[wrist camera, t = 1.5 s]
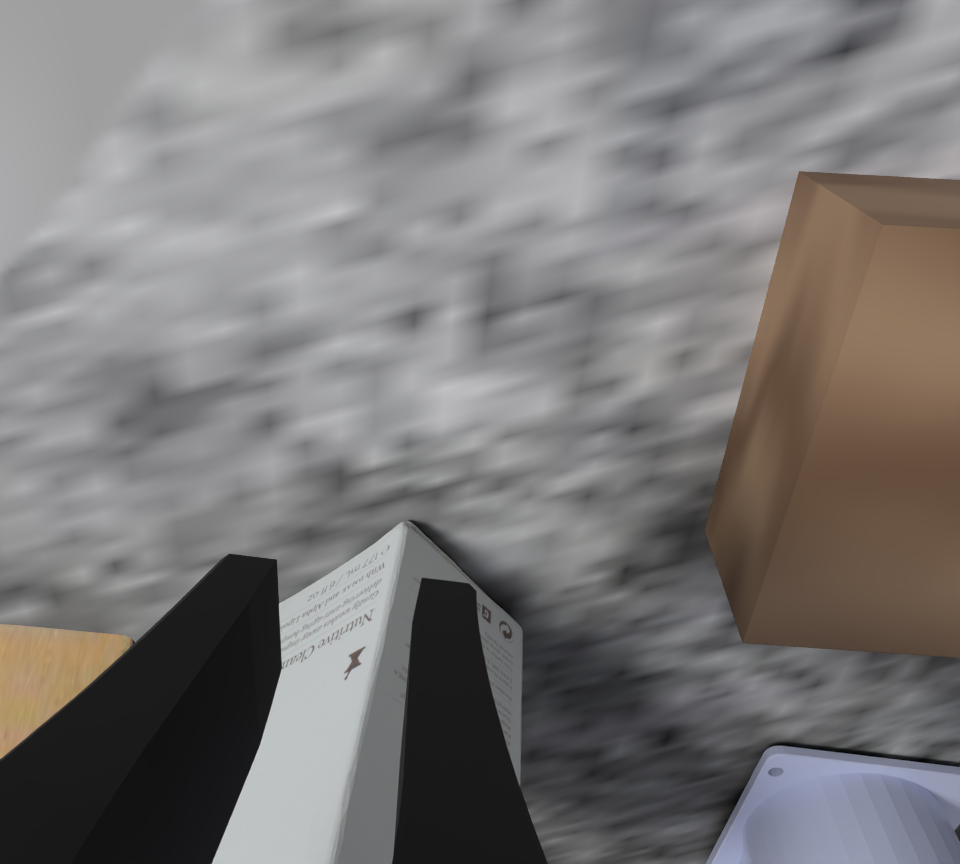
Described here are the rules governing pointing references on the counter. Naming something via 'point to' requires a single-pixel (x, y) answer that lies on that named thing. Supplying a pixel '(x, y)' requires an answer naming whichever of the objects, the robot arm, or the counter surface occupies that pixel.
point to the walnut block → (851, 427)
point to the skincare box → (353, 709)
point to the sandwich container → (47, 674)
